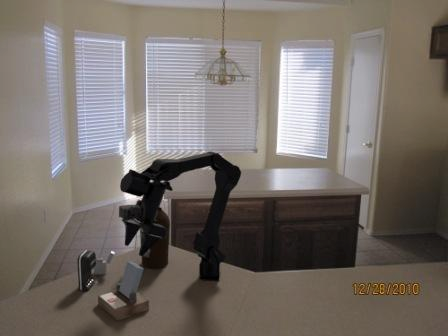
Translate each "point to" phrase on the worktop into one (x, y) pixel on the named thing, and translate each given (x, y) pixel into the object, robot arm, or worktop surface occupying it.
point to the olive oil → (157, 245)
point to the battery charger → (86, 269)
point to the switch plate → (113, 300)
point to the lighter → (103, 264)
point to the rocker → (131, 279)
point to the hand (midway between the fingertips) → (133, 250)
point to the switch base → (133, 304)
